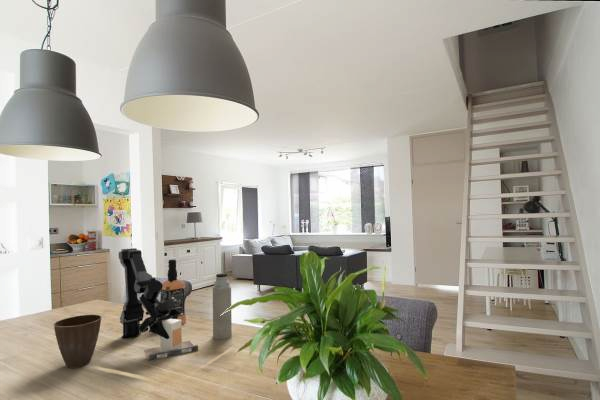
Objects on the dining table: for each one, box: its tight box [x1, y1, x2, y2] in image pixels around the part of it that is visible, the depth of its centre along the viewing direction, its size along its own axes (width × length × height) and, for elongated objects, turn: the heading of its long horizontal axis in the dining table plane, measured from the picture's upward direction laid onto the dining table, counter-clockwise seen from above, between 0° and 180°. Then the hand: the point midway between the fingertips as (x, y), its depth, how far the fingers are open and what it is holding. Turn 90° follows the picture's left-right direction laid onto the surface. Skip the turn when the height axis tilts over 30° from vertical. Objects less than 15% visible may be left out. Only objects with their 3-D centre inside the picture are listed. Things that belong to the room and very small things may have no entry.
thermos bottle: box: [212, 273, 233, 340], centre depth 156 cm, size 8×8×28 cm
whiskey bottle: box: [159, 258, 187, 325], centre depth 180 cm, size 10×10×32 cm
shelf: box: [143, 340, 199, 362], centre depth 140 cm, size 18×13×3 cm
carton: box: [160, 319, 183, 352], centre depth 140 cm, size 6×6×12 cm
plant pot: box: [53, 314, 102, 369], centre depth 131 cm, size 15×15×16 cm
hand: (173, 336), depth 139 cm, fingers closed on carton, 5 cm apart
